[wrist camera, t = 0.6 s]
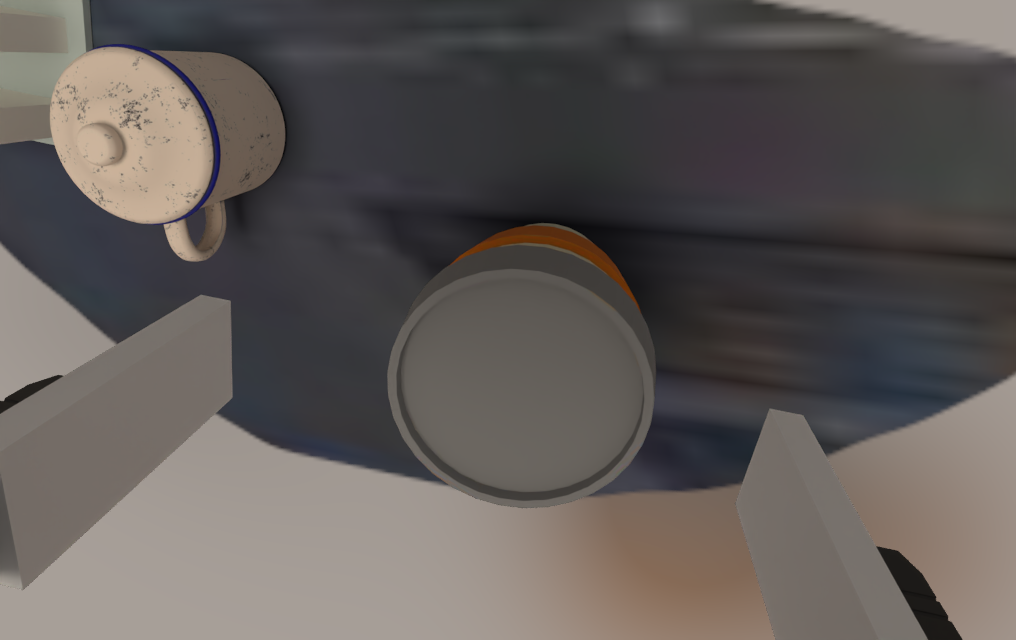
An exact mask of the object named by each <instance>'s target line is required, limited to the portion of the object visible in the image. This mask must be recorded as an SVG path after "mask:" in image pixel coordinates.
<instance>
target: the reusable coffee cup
mask: <svg viewBox="0 0 1016 640" xmlns="http://www.w3.org/2000/svg"><path fill="white" fill-rule="evenodd" d="M655 382H656V363H655V350H654V346H653V342H652V339H651V336H650V332H649V329H648V326H647V324H646V322H645V320H644V318H643V316H642V315H641V312H640V308H639V305H638V303H637V301H636V300H635V298H634V296H633V294H632V292H631V291H630V289H629V287H628V285H627V284H626V282H625V280H624V278H623V277H622V275H621V273H620V271H619V270H618V268H617V266H616V265H615V264H614V263H613V262H612V260H611V259H610V258H609V257H608V256H607V255H606V253H605V252H603V251H602V250H601V249H600V248H598V247H597V246H596V245H594V244H593V242H591V241H590V240H589V239H587V238H586V237H585V236H584V235H582V234H581V233H579V232H577V231H575V230H573V229H571V228H568V227H565V226H561V225H558V224H549V223H538V224H529V225H526V226H523V227H515V228H512V229H509V230H506V231H503V232H500V233H497V234H495V235H493V236H491V237H490V238H488V239H486V240H484V241H483V242H481V243H479V244H478V245H476V246H475V247H473V248H471V249H470V250H468V251H467V252H465V253H464V254H462V255H461V256H459V257H458V258H457V259H456V260H455V261H454V262H453V263H451V264H450V265H449V266H448V267H446V268H444V269H443V270H442V271H441V272H440V273H439V274H437V275H436V276H435V277H434V278H433V279H432V280H431V281H430V282H428V283H427V284H426V285H425V287H424V288H423V290H422V291H421V292H420V294H419V295H418V296H417V298H416V299H415V300H414V302H413V303H412V305H411V308H410V310H409V312H408V314H407V317H406V319H405V321H404V323H403V326H402V328H401V330H400V332H399V335H398V337H397V339H396V341H395V344H394V346H393V348H392V352H391V357H390V362H389V367H388V397H389V401H390V405H391V409H392V413H393V417H394V420H395V422H396V424H397V426H398V428H399V430H400V433H401V435H402V437H403V439H404V440H405V442H406V443H407V444H408V446H409V447H410V449H411V450H412V451H413V453H414V454H415V456H416V457H417V458H418V459H419V460H420V461H421V462H422V463H423V464H424V465H425V466H426V467H427V468H428V469H429V470H430V471H431V472H432V473H433V474H434V475H436V476H437V477H439V478H440V479H442V480H443V481H444V482H446V483H447V484H449V485H450V486H452V487H453V488H455V489H457V490H459V491H461V492H463V493H466V494H468V495H470V496H472V497H474V498H476V499H480V500H483V501H487V502H490V503H494V504H497V505H503V506H510V507H518V508H537V507H550V506H555V505H560V504H564V503H569V502H572V501H575V500H577V499H580V498H582V497H585V496H587V495H590V494H592V493H594V492H596V491H597V490H599V489H600V488H602V487H603V486H605V485H606V484H608V483H610V482H611V481H613V480H614V479H615V478H616V477H617V476H618V475H619V474H620V473H621V472H622V471H623V470H624V469H625V468H626V467H627V466H628V465H629V464H630V463H631V461H632V460H633V458H634V457H635V455H636V454H637V452H638V451H639V449H640V448H641V446H642V445H643V442H644V439H645V437H646V434H647V432H648V429H649V427H650V424H651V419H652V412H653V405H654V397H655Z"/></svg>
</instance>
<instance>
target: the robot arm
mask: <svg viewBox="0 0 1016 640" xmlns="http://www.w3.org/2000/svg"><path fill="white" fill-rule="evenodd" d="M231 398H232V352H231V301H229V300H224V299H219V298H214V297H209V296H204V295H200V296H198V297H197V298H195V299H193V300H192V301H190V302H188V303H186V304H185V305H183V306H181V307H180V308H178V309H176V310H175V311H173V312H171V313H170V314H168V315H166V316H165V317H163V318H161V319H159V320H158V321H156V322H154V323H153V324H151V325H149V326H148V327H146V328H144V329H143V330H141V331H139V332H138V333H136V334H134V335H132V336H131V337H129V338H127V339H126V340H124V341H122V342H121V343H119V344H117V345H116V346H114V347H112V348H111V349H109V350H107V351H105V352H104V353H102V354H100V355H99V356H97V357H95V358H94V359H92V360H90V361H89V362H87V363H85V364H84V365H82V366H80V367H78V368H77V369H75V370H73V371H72V372H70V373H68V374H67V375H65V376H62V375H57V376H54V377H51V378H47V379H44V380H41V381H38V382H35V383H32V384H29V385H27V386H25V387H24V388H22V389H20V390H18V391H17V392H15V393H13V394H11V395H10V396H8V397H6V398H5V400H4V401H0V585H4V586H8V587H13V588H17V589H21V590H24V589H25V588H26V587H27V586H28V585H29V584H30V583H31V582H33V580H35V579H36V578H37V577H38V576H39V575H40V574H41V573H42V572H43V571H44V570H45V569H47V568H48V567H49V566H50V565H51V564H52V563H53V562H54V561H55V560H56V559H57V558H59V557H60V556H61V555H62V554H63V553H64V552H65V551H66V550H67V549H68V548H69V547H71V546H72V544H74V543H75V542H76V541H77V540H78V539H79V538H80V537H81V536H83V534H84V533H86V532H87V531H88V530H89V529H90V528H91V527H92V526H93V525H94V524H96V522H98V521H99V520H100V519H101V518H102V517H103V516H104V515H105V514H106V513H107V512H109V511H110V510H111V509H112V508H113V507H114V506H115V505H116V504H117V503H118V502H119V501H121V500H122V499H123V498H124V497H125V496H126V495H127V494H128V493H129V492H130V491H131V490H133V489H134V488H135V487H136V486H137V485H138V484H139V483H140V482H141V481H142V480H143V479H144V478H145V477H147V476H148V475H149V474H150V473H151V472H152V471H153V470H154V469H155V468H156V467H157V466H159V465H160V464H161V463H162V462H163V461H164V460H165V459H166V458H167V457H168V456H169V455H170V454H172V453H173V452H174V451H175V450H176V449H177V448H178V447H179V446H180V445H181V444H183V443H184V442H185V441H186V440H187V439H188V438H189V437H190V436H191V435H192V434H193V433H194V432H196V431H197V430H198V429H199V428H200V427H201V426H202V425H203V424H204V423H205V422H206V421H207V420H209V419H210V418H211V417H212V416H213V415H214V414H215V413H216V412H217V411H218V410H220V409H221V408H222V407H223V406H224V405H225V404H226V403H227V402H228V401H229V400H230V399H231ZM735 505H736V508H737V511H738V515H739V518H740V522H741V525H742V528H743V532H744V535H745V538H746V542H747V545H748V549H749V552H750V555H751V559H752V562H753V565H754V569H755V572H756V576H757V579H758V583H759V586H760V589H761V593H762V596H763V599H764V603H765V606H766V609H767V613H768V616H769V620H770V623H771V626H772V630H773V633H774V637H775V640H962V638H961V636H960V635H959V633H958V632H957V630H956V628H955V627H954V625H953V624H952V622H950V621H948V615H947V614H946V612H945V610H944V609H943V607H942V606H941V604H940V602H937V601H936V596H935V594H934V593H933V591H932V589H931V588H930V586H929V584H928V583H927V581H926V580H925V578H924V576H923V575H922V573H920V571H919V570H917V569H916V568H915V567H914V566H913V565H912V564H911V563H910V562H909V561H908V560H907V559H906V558H905V557H904V556H903V555H902V554H901V553H900V552H898V551H896V550H891V549H887V548H882V547H877V546H876V545H875V544H874V542H873V540H872V538H871V537H870V535H869V533H868V531H867V529H866V527H865V526H864V524H863V522H862V521H861V519H860V517H859V515H858V513H857V511H856V510H855V508H854V506H853V504H852V502H851V501H850V499H849V497H848V495H847V493H846V492H845V490H844V488H843V486H842V484H841V483H840V481H839V479H838V477H837V475H836V474H835V472H834V470H833V468H832V467H831V465H830V463H829V461H828V459H827V457H826V456H825V454H824V452H823V450H822V448H821V447H820V445H819V443H818V441H817V439H816V438H815V436H814V434H813V432H812V431H811V429H810V427H809V425H808V423H807V422H806V420H805V418H804V416H803V415H799V414H794V413H789V412H784V411H779V410H774V409H769V412H768V415H767V417H766V420H765V423H764V426H763V428H762V431H761V434H760V437H759V439H758V442H757V445H756V448H755V450H754V453H753V456H752V459H751V461H750V464H749V467H748V470H747V472H746V475H745V478H744V481H743V483H742V486H741V489H740V492H739V494H738V497H737V500H736V503H735Z"/></svg>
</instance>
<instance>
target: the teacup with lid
mask: <svg viewBox="0 0 1016 640" xmlns="http://www.w3.org/2000/svg"><path fill="white" fill-rule="evenodd" d="M50 127H51V133H52V138H53V142H54V145H55V148H56V151H57V153H58V156H59V158H60V160H61V162H62V164H63V166H64V168H65V169H66V171H67V173H68V174H69V176H70V177H71V179H72V180H73V181H74V183H75V184H76V185H77V186H78V188H79V189H80V190H81V191H82V192H83V193H84V194H85V195H86V196H87V197H88V198H90V199H91V200H92V201H93V202H94V203H96V204H97V205H98V206H100V207H101V208H103V209H104V210H106V211H108V212H110V213H112V214H114V215H116V216H118V217H120V218H123V219H126V220H129V221H133V222H137V223H143V224H152V225H161V224H164V227H165V232H166V235H167V239H168V241H169V244H170V246H171V247H172V249H173V250H174V252H175V253H176V254H177V255H178V256H179V257H181V258H182V259H184V260H187V261H203V260H206V259H208V258H209V257H211V256H212V255H213V254H214V253H215V252H216V251H217V249H218V248H219V246H220V245H221V242H222V240H223V238H224V234H225V229H226V211H225V204H224V200H225V199H227V198H230V197H233V196H236V195H239V194H241V193H244V192H247V191H250V190H252V189H254V188H256V187H258V186H260V185H261V184H263V183H264V182H265V181H266V180H268V179H269V178H270V177H271V175H272V174H273V173H274V171H275V170H276V169H277V167H278V165H279V163H280V160H281V158H282V155H283V151H284V146H285V124H284V119H283V115H282V111H281V108H280V106H279V103H278V101H277V99H276V97H275V95H274V93H273V92H272V90H271V89H270V87H269V86H268V84H267V83H266V82H265V81H264V80H263V78H262V77H261V76H260V75H259V74H258V73H257V72H256V71H254V70H253V69H252V68H251V67H249V66H248V65H247V64H245V63H243V62H242V61H240V60H238V59H236V58H233V57H231V56H228V55H224V54H220V53H213V52H185V51H153V50H147V49H144V48H141V47H137V46H133V45H125V44H112V45H104V46H100V47H97V48H94V49H91V50H89V51H88V52H86V53H84V54H82V55H81V56H79V57H78V58H76V59H75V60H74V61H72V62H71V63H70V64H69V65H68V66H67V68H66V69H65V70H64V71H63V73H62V74H61V76H60V77H59V79H58V81H57V83H56V85H55V88H54V91H53V94H52V98H51V105H50ZM202 207H205V214H206V226H205V231H204V234H203V236H202V238H201V240H200V242H199V243H198V244H197V245H196V246H195V245H194V244H193V242H192V241H191V238H190V235H189V232H188V228H187V223H186V218H187V217H188V216H190V215H192V214H193V213H194V212H196V211H197V210H198V209H200V208H202Z"/></svg>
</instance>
